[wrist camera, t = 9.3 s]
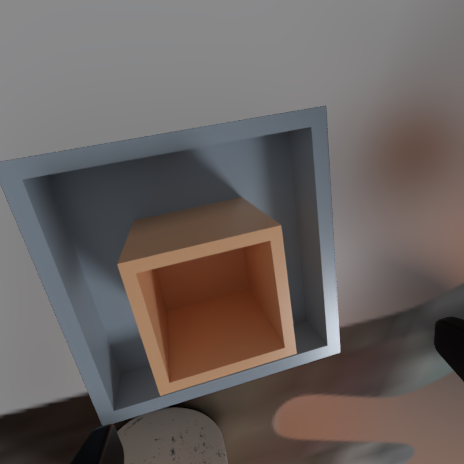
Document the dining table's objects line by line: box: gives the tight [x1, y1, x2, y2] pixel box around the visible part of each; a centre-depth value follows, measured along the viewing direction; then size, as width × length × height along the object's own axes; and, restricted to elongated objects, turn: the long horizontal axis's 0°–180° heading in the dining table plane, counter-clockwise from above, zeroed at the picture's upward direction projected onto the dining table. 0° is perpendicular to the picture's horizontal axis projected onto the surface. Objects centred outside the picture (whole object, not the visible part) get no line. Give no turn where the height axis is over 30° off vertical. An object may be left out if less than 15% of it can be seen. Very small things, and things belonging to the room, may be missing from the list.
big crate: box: [0, 106, 340, 426], centre depth 16 cm, size 14×14×4 cm
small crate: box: [117, 197, 297, 396], centre depth 14 cm, size 6×6×6 cm
